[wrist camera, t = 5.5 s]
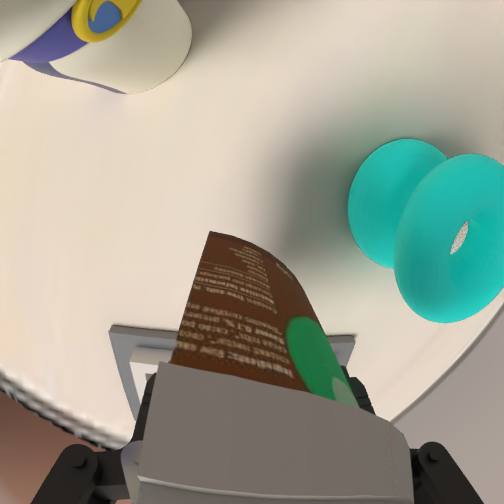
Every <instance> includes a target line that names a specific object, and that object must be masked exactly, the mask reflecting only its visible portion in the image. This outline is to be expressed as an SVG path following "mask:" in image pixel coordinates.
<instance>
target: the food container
mask: <svg viewBox="0 0 504 504" xmlns="http://www.w3.org/2000/svg"><path fill="white" fill-rule="evenodd" d="M137 476H138V478H139V480H140V486H139V492H138V498H137V504H414V495H413V481H412V469H411V459H410V450H409V446H408V444H407V441H406V439H405V437H404V435H403V433H401V432H400V431H399V430H398V429H397V428H396V427H394V426H393V425H392V424H391V423H390V422H389V421H387V420H385V419H383V418H380V417H378V416H376V415H374V414H372V413H369V412H367V411H365V410H363V409H361V408H359V406H358V403H357V401H356V399H355V397H354V395H353V392H352V390H351V388H350V386H349V384H348V382H347V379H346V377H345V375H344V373H343V371H342V369H341V367H340V364H339V362H338V360H337V358H336V356H335V354H334V352H333V350H332V347H331V345H330V343H329V341H328V339H327V337H326V335H325V333H324V331H323V329H322V327H321V324H320V322H319V320H318V318H317V316H316V314H315V312H314V310H313V308H312V306H311V304H310V302H309V300H308V298H307V296H306V294H305V292H304V290H303V288H302V286H301V285H300V283H299V282H298V280H297V279H296V277H295V276H294V274H293V273H292V272H291V271H290V270H289V269H288V268H287V267H286V266H285V265H284V264H283V263H282V262H281V261H279V260H278V259H277V258H276V257H274V256H273V255H272V254H270V253H269V252H267V251H266V250H264V249H262V248H260V247H258V246H256V245H255V244H253V243H251V242H248V241H245V240H243V239H240V238H237V237H235V236H232V235H227V234H222V233H217V232H213V231H210V232H209V235H208V238H207V241H206V244H205V247H204V250H203V253H202V256H201V259H200V262H199V265H198V269H197V272H196V275H195V278H194V281H193V285H192V288H191V291H190V294H189V298H188V301H187V304H186V307H185V311H184V314H183V318H182V321H181V324H180V328H179V331H178V335H177V338H176V342H175V345H174V349H173V352H172V356H171V360H170V363H166V362H162V361H159V364H158V369H157V373H156V378H155V382H154V387H153V392H152V396H151V401H150V406H149V411H148V416H147V421H146V427H145V432H144V437H143V443H142V449H141V454H140V460H139V467H138V473H137Z"/></svg>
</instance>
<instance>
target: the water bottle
mask: <svg viewBox="0 0 504 504" xmlns="http://www.w3.org/2000/svg"><path fill="white" fill-rule="evenodd" d="M191 41H192V28H191V23H190V20H189V18H188V16H187V14H186V13H185V11H184V10H183V8H182V7H181V5H180V4H179V2H178V1H177V0H0V62H3V61H5V60H7V59H12V60H18V61H23V62H24V63H25V64H26V65H28V66H29V67H31V68H33V69H34V70H36V71H39V72H41V73H44V74H48V75H51V76H55V77H60V78H65V79H70V80H75V81H80V82H84V83H88V84H92V85H95V86H98V87H101V88H104V89H107V90H110V91H113V92H116V93H122V94H133V93H139V92H143V91H146V90H149V89H152V88H154V87H156V86H158V85H159V84H161V83H163V82H164V81H166V80H167V79H168V78H169V77H171V76H172V75H173V74H174V73H175V72H176V71H177V70H178V68H179V67H180V66H181V65H182V63H183V62H184V60H185V58H186V56H187V54H188V52H189V49H190V45H191Z"/></svg>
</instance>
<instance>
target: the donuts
mask: <svg viewBox="0 0 504 504" xmlns="http://www.w3.org/2000/svg"><path fill="white" fill-rule="evenodd" d="M348 220H349V225H350V229H351V232H352V235H353V237H354V239H355V241H356V243H357V245H358V246H359V248H360V249H361V250H362V251H363V253H364V254H365V255H366V256H367V257H368V258H370V259H371V260H372V261H374V262H376V263H378V264H379V265H382V266H384V267H387V268H392V269H394V271H395V277H396V282H397V285H398V288H399V290H400V292H401V295H402V297H403V298H404V300H405V302H406V303H407V304H408V306H409V307H410V308H411V309H412V310H413V311H414V312H415V313H416V314H418V315H420V316H421V317H423V318H425V319H427V320H429V321H433V322H438V323H452V322H457V321H461V320H464V319H466V318H468V317H471V316H472V315H474V314H476V313H478V312H479V311H480V310H482V309H483V308H484V307H486V306H487V305H488V304H489V303H490V302H491V301H492V300H493V299H494V298H495V297H496V296H497V295H498V294H499V292H500V291H501V290H502V288H503V287H504V166H503V165H501V164H500V163H499V162H497V161H496V160H494V159H492V158H490V157H487V156H484V155H480V154H463V155H458V156H455V157H452V158H450V159H448V158H447V157H446V156H445V155H444V154H443V153H442V152H441V151H440V150H439V149H437V148H436V147H434V146H433V145H431V144H429V143H427V142H424V141H421V140H415V139H400V140H396V141H392V142H390V143H387V144H385V145H383V146H381V147H380V148H378V149H377V150H375V151H374V152H373V153H372V154H371V155H370V156H369V157H368V158H367V159H366V160H365V161H364V162H363V164H362V165H361V167H360V168H359V170H358V172H357V173H356V175H355V178H354V180H353V183H352V185H351V189H350V193H349V198H348ZM467 220H468V232H467V235H466V238H465V240H464V242H463V244H462V245H461V247H460V248H459V249H458V250H457V251H456V252H454V253H453V254H451V255H450V251H451V248H452V245H453V242H454V240H455V238H456V236H457V234H458V232H459V230H460V229H461V227H462V226H463V225H464V223H465V222H466V221H467Z"/></svg>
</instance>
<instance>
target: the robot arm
mask: <svg viewBox="0 0 504 504" xmlns="http://www.w3.org/2000/svg"><path fill="white" fill-rule="evenodd" d="M168 363H170V361H169V362H168ZM340 367H341V369H342V371H343V373H344V375H345V377H346V379H347V382H348V384H349V386H350V388H351V390H352V392H353V395H354V397H355V399H356V401H357V403H358V406H359V408H361V409H363V410H365V411H367V412H369V413H372V414H374V415H376V414H375V412H374V409H373V407H372V406H371V402H370V399H369V398H368V394H367V391H366V389H365V386H364V385H363V384H362V383H361V382H360V381H359V380H358V379H357V378H356V377H349V374H348V372H347V369H346V367H345V366H344V365H340ZM155 378H156V372H155V373H154V374H153V375H152V376H151V377H150V379H149V380H148V381H147V383H146V386H145V390H144V395H143V398H142V401H141V402H142V403H141V405H140V409H139V413H138V417H137V421H136V425H135V429H134V433H133V437H132V439H131V441H130V442H129V443H128V444H127V445H126V446H125V447H123V448H121V449H119V450H115V451H104V452H94V451H93V450H92V449H90V448H89V447H87V446H85V445H82V444H73V445H70V446H68V447H66V448H65V449H64V450H63V452H62V453H61V454H60V456H59V458H58V459H57V461H56V463H55V464H54V466H53V467H52V469H51V470H50V472H49V474H48V476H47V477H46V479H45V480H44V482H43V484H42V486H41V487H40V489H39V490H38V492H37V494H36V495H35V497H34V499H33V501H32V502H31V504H115V503H116V501H117V500H120V499H131V502H132V504H137V498H138V492H139V486H140V480H139V478H138V476H137V473H138V467H139V460H140V454H141V449H142V443H143V437H144V432H145V427H146V421H147V416H148V411H149V406H150V401H151V396H152V392H153V387H154V382H155ZM409 450H410V459H411V469H412V481H413V495H414V504H484V503H483V502H482V500H481V499H480V497H479V496H478V494H477V493H476V491H475V490H474V488H473V487H472V485H471V484H470V482H469V481H468V480H467V478H466V477H465V475H464V474H463V472H462V471H461V470H460V468H459V467H458V465H457V464H456V463H455V461H454V460H453V458H452V457H451V456H450V454H449V453H448V451H447V450H446V449H445V447H444V446H442V445H441V444H439V443H437V442H428V443H425V444H424V445H423V446H421V447H420V449H409Z"/></svg>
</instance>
